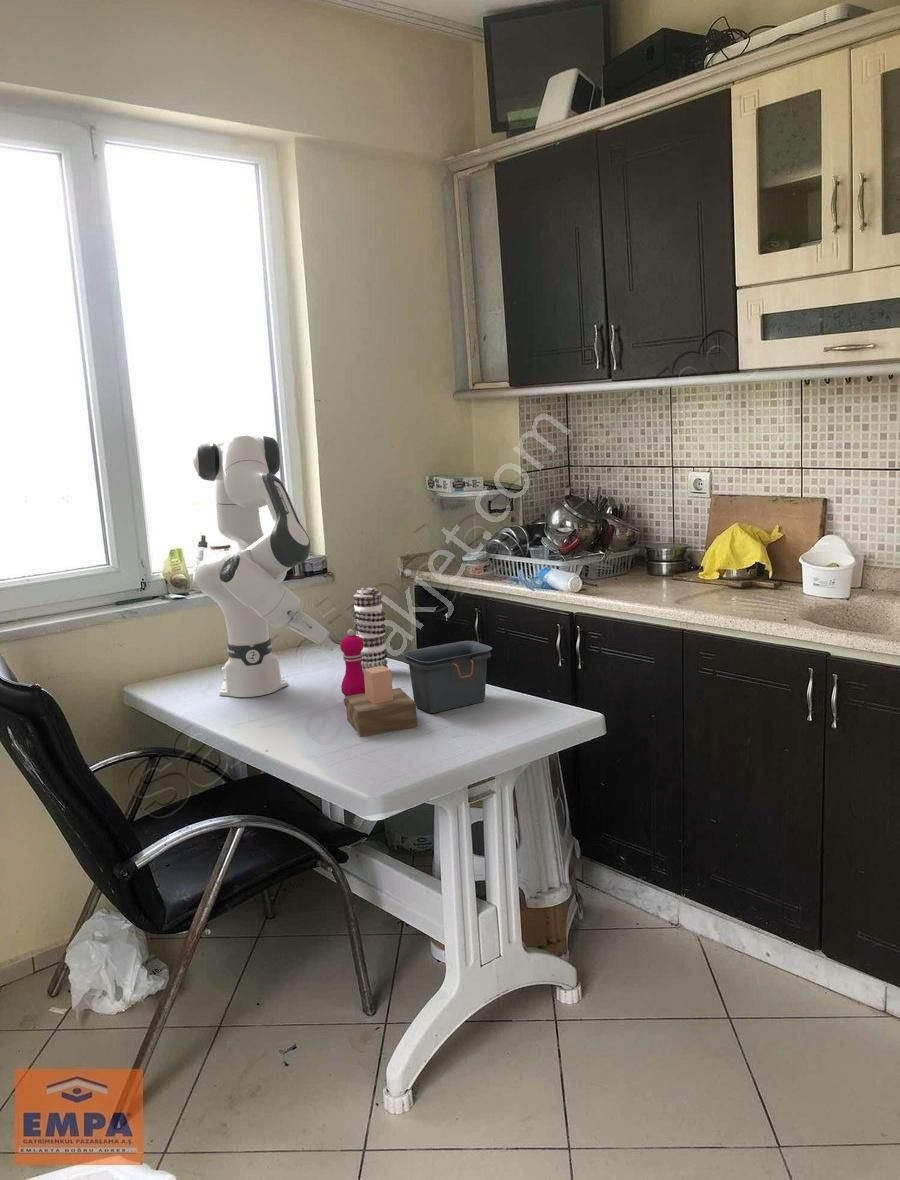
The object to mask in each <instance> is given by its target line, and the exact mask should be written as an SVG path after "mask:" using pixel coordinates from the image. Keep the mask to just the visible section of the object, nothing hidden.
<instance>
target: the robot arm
mask: <svg viewBox="0 0 900 1180" xmlns="http://www.w3.org/2000/svg"><path fill="white" fill-rule="evenodd" d="M192 457H193V458H192V460H193V461H192V462H193V466H194V469H195V471H196V472H197V474H198V475H197V476H199V477H200V478H201V479H202V480H204V481H210V482H214V481H215V506H216V508H215V509H216V521H217V529H218V530H219V533H221V535H222V536H223V537H225V538H226V539H229V540H231V541H235V542H236V543H237V545H238V551H237V552H231V553H223V554H216V555H215V556H211V557H208V558H206V559H204V560H200V561H199V562H198V564H197V566H196V569H195V571H194V572H195V573H194V577H195V579H194V580H195V583H196V586H197V588H198V589H199V591H201V593H202V594H203V595H206V597H208V598H210V599H212V600H213V601H214V602H215V603H216V604H217V605H218V606H219V608H220V610H221V611H222V613H223V617H224V620H225V625H226V631H227V639H228V642H227V648H226V652H227V656H228V660H227V661H226V662H225V664H224V666H222V667H221V674H222V676H224V678H223V681H222V684H221V686H220V689H219V691H218V692H219V694H220V695H219V696H226V697H227V696H228V697H235V698H252V697H259V696H264V695H268V694H271V693H272V694H273V693H275V692H277V691H278V690H280V689H282V688H284V687H288V686H289V684H288V681H287V680H286V679H284V678H283V677H281V669H280V661H279V658H278V657H277V655H275V654H274V653H272V652H273V643H272V639H271V637H270V633H269V625H270V626H271V627H272V628H273V629H275V630H276V629H281V628H283V629H289V630H290V631H293V632H295V633H296V634H298V635H299V636H302V637H304V638H306V639H308V640H310V641H311V642H313V643H315V644H317V645H319V646H324V647H325V648H327V650H329V651H334V649H335V648H336V647H337V644H336V643H335V642H334V641H332V639H331V638H330V637H329V636H330V635H331V632H330V631H329V630H328V629H327V628H325V627H324V626H322V625H321V624H320V623H319V622H317V620H315V619H314V618H312V617H311V616H310V615H308V614H307V613H304V612H303V606H301V598H300V597H299V596H298V595H297V594H295V593H294V592H293V591H292V590H291V589H289V588H288V587H287V586H285V585H284V584H283V583H282V582H283V581H284V580H285V578H286V576H287V572H288V571H289V570H291V569H293V568H295V567H296V566H298V565H299V564H301V563H303V562H305V561H306V560H307V559H308V558H309V555H310V552H311V541H310V540H311V539H310V537H309V535H308V533H307V532H306V530H305V529H304V527H303V525H302V524H301V522H300V520H299V516H298V514H297V513H296V511H295V510H296V509H295V508H294V505H293V503H292V501H291V500H292V499H291V498H290V496H289V493H288V491H287V489H286V487H285V485H284V483H283V482H282V481H281V479H279V477H277V475H276V474H277V473H278V472H279V471H280V469H281V465H282V461H283V459H282V457H283V456H282V451H281V448H280V446H279V443H278V441H277V440H276V439H275V438H274V437H272V436H266V435H265V436H264V435H261V436H251V435H248V434H236V435H233V436H231V437H224V438H223V437H221V438H216V439H209V438H208V439H204V440H201V441H199V442H198V443H197V444H196V446H195V449H194V452H193V456H192ZM265 506H267V507H268V510H269V513H270V515H271V517H272V520H273V523H272V524H271V527H270V529H269V530H268V531H267V532H266V533H265V534H264V533H263V529H262V524H261V518H260V517H261V516H260V509H259V508H263V507H265Z"/></svg>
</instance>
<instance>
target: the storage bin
mask: <svg viewBox="0 0 900 1180" xmlns="http://www.w3.org/2000/svg"><path fill="white" fill-rule="evenodd" d="M492 650H493V647H492V646H489V645H486V644H484V643H481V642H478V641H476V640H464V641H456V642H451V643H445V644H439V645H434V646H427V647H423V648H417V649H411V650H406V651H404V652H402V656H404V659H403V661H404V662H403V663H404V664H407V665H408V667H409V675H410V676H409V677H410V681H411V682H410V683H411V688H412V696H413V701H414V702H415V703H416V708H418V709H420V710H422V711H425V712H426V713H429V714H435V713H439V712H443V711H448V710H452V709H456V708H461V707H465V706H466V707H467V706H470V705H474V704H479V703H483V702H484V701H485V700H486V687H487V685H486V684H487V669H488V668H487V665H488V663H487V662H488V659H489V658H491V657H492V653H491V651H492Z"/></svg>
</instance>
